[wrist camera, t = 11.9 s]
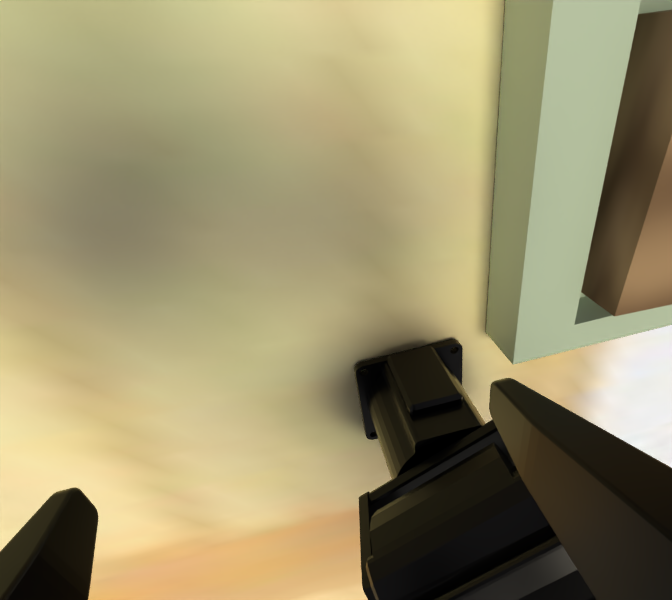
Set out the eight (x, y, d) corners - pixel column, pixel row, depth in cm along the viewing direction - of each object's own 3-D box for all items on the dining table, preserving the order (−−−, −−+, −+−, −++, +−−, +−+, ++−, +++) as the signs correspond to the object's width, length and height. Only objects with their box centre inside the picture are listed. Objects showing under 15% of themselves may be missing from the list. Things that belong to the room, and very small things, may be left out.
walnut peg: (624, 269, 23) (680, 302, 20) (566, 281, 22) (614, 316, 19) (706, 4, 16) (807, -6, 13) (625, 15, 16) (711, 7, 13)
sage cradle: (668, 287, 25) (714, 314, 23) (485, 332, 24) (512, 364, 22) (802, -108, 16) (909, -139, 13) (508, -57, 15) (561, -80, 12)
